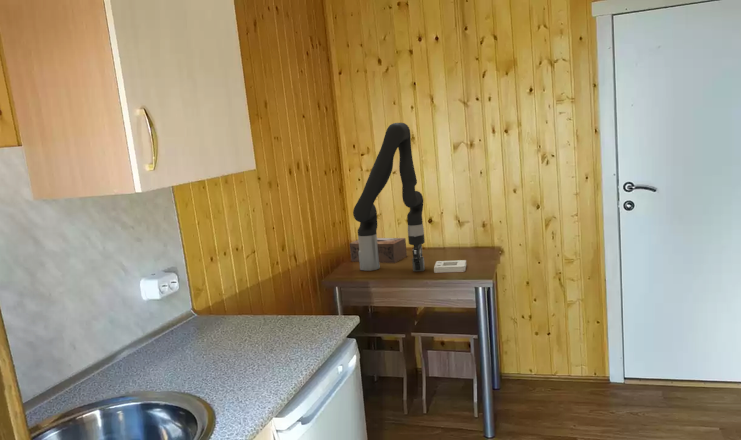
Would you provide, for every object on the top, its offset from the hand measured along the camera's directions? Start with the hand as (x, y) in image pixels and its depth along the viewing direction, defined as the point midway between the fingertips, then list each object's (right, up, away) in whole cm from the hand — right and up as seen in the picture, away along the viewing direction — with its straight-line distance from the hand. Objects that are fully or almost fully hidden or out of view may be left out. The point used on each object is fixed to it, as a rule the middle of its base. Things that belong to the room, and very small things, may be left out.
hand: (418, 268), depth 276 cm
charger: (0, -1, 0) cm, 1 cm away
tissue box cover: (-18, +2, +32) cm, 37 cm away
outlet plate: (+15, 0, -3) cm, 15 cm away
